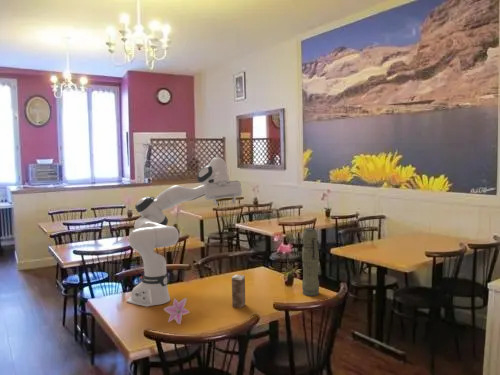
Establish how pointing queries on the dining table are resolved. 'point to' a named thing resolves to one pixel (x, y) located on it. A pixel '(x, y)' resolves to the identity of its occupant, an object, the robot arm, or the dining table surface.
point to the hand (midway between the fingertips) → (225, 203)
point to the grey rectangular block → (238, 291)
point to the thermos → (310, 263)
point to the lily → (177, 310)
